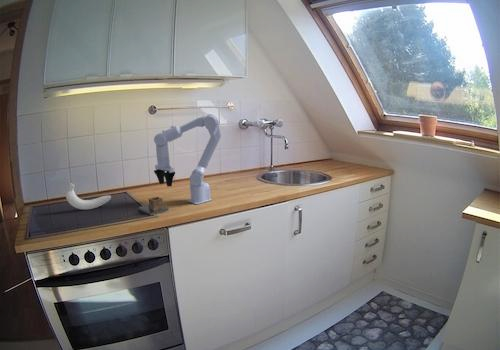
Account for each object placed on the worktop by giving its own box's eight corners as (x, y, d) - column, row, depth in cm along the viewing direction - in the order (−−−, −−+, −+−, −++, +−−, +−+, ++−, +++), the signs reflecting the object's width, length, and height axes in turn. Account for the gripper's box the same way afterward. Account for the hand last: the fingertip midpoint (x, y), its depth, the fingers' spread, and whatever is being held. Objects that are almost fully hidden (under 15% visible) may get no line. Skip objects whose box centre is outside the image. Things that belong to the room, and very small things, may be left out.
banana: (112, 206, 160) (109, 177, 157) (69, 214, 151) (64, 184, 147) (110, 203, 164) (107, 175, 161) (68, 211, 155) (63, 181, 151)
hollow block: (158, 206, 154) (157, 196, 153) (163, 208, 150) (162, 198, 149) (149, 209, 151) (148, 198, 150) (154, 211, 147) (153, 200, 146)
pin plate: (156, 205, 160) (155, 196, 159) (168, 210, 152) (167, 201, 151) (138, 209, 154) (137, 200, 153) (150, 215, 146) (149, 206, 145)
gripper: (148, 157, 160) (151, 183, 164) (163, 160, 150) (165, 189, 153) (161, 155, 165) (163, 181, 168) (176, 158, 155) (178, 186, 158)
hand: (165, 184), depth 161 cm, fingers open, 7 cm apart
